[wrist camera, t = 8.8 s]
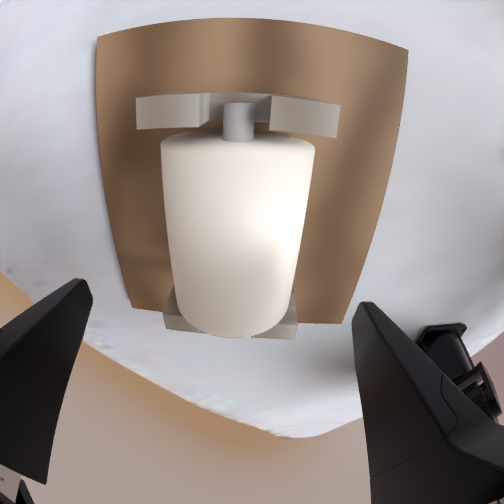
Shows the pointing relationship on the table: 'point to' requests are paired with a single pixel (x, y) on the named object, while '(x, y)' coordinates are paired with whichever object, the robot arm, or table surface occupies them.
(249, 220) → the paper roll
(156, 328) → the table surface
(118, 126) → the roll cradle
